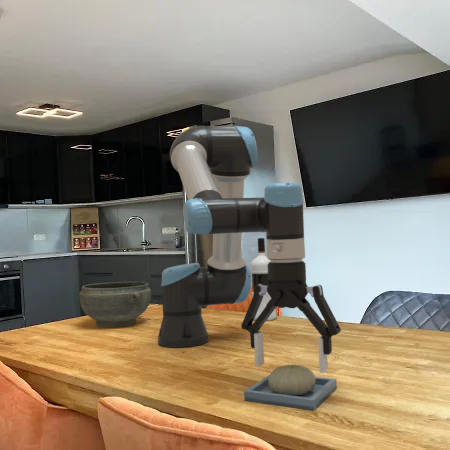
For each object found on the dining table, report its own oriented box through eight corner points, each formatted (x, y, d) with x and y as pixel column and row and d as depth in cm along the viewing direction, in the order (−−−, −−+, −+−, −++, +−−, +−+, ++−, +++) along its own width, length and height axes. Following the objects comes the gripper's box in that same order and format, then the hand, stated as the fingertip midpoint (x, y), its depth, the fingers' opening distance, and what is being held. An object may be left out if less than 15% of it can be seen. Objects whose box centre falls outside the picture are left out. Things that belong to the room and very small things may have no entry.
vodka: (263, 322, 180) (259, 238, 181) (246, 319, 187) (243, 238, 188) (282, 318, 186) (278, 237, 186) (265, 316, 193) (262, 237, 193)
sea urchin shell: (260, 376, 104) (285, 347, 105) (287, 401, 105) (313, 372, 106) (268, 389, 95) (296, 357, 96) (298, 417, 96) (326, 385, 96)
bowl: (170, 323, 185) (168, 282, 186) (106, 335, 168) (105, 290, 168) (124, 315, 209) (123, 279, 209) (64, 324, 192) (63, 285, 192)
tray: (244, 400, 98) (244, 391, 98) (273, 380, 110) (273, 372, 110) (313, 410, 91) (313, 400, 91) (336, 387, 103) (336, 379, 103)
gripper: (222, 262, 103) (226, 366, 103) (342, 261, 91) (347, 379, 91) (239, 260, 110) (243, 357, 110) (353, 258, 98) (358, 368, 98)
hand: (290, 367), depth 100 cm, fingers open, 13 cm apart
